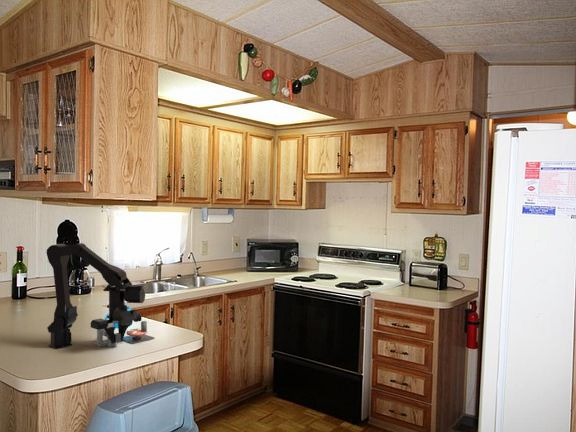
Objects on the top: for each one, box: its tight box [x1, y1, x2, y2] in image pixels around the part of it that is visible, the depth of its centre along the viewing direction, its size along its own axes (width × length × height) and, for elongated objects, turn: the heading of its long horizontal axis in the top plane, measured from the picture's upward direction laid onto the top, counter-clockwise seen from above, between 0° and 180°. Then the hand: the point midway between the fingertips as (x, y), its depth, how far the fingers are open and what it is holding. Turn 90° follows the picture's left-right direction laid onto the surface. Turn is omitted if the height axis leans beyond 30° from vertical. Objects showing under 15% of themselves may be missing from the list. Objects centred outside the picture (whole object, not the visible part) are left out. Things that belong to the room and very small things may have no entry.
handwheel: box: [126, 320, 148, 336], centre depth 199 cm, size 8×8×6 cm
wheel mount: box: [122, 334, 155, 345], centre depth 200 cm, size 10×10×1 cm
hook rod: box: [103, 331, 122, 344], centre depth 191 cm, size 2×13×3 cm, turn 51°
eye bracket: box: [93, 329, 117, 348], centre depth 192 cm, size 7×8×6 cm
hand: (116, 342), depth 188 cm, fingers open, 3 cm apart
